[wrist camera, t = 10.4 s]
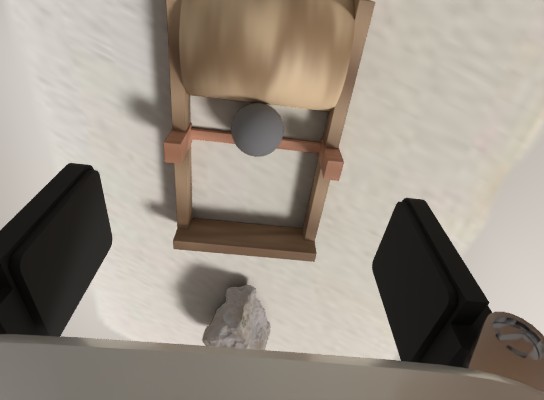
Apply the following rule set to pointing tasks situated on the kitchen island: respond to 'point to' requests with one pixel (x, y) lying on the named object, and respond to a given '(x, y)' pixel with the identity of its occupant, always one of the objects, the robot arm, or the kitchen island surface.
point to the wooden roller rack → (261, 98)
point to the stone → (239, 322)
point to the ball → (257, 129)
